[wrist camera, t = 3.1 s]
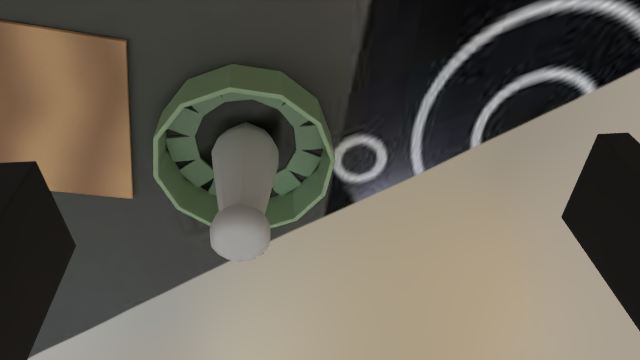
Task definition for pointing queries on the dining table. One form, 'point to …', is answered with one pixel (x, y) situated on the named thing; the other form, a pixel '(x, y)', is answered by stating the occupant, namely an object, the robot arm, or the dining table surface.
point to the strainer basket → (188, 193)
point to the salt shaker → (243, 191)
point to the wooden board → (66, 108)
